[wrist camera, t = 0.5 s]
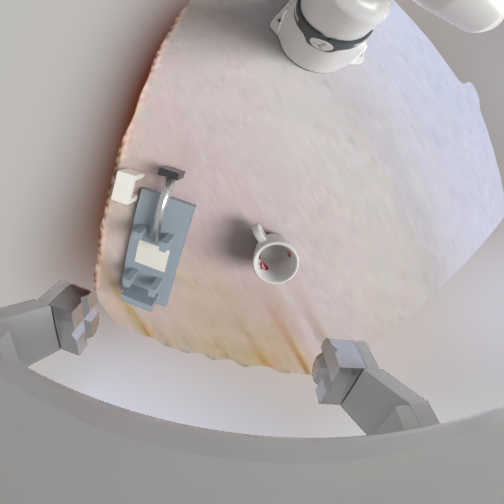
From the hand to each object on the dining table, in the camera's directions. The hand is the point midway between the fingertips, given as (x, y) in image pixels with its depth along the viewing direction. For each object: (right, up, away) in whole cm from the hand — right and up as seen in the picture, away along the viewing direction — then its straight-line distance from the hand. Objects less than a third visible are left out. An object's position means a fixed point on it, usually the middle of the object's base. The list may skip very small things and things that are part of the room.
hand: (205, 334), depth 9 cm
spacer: (-22, +16, +41) cm, 49 cm away
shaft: (-15, +12, +41) cm, 45 cm away
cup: (+5, +5, +46) cm, 46 cm away
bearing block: (-18, +3, +46) cm, 50 cm away
